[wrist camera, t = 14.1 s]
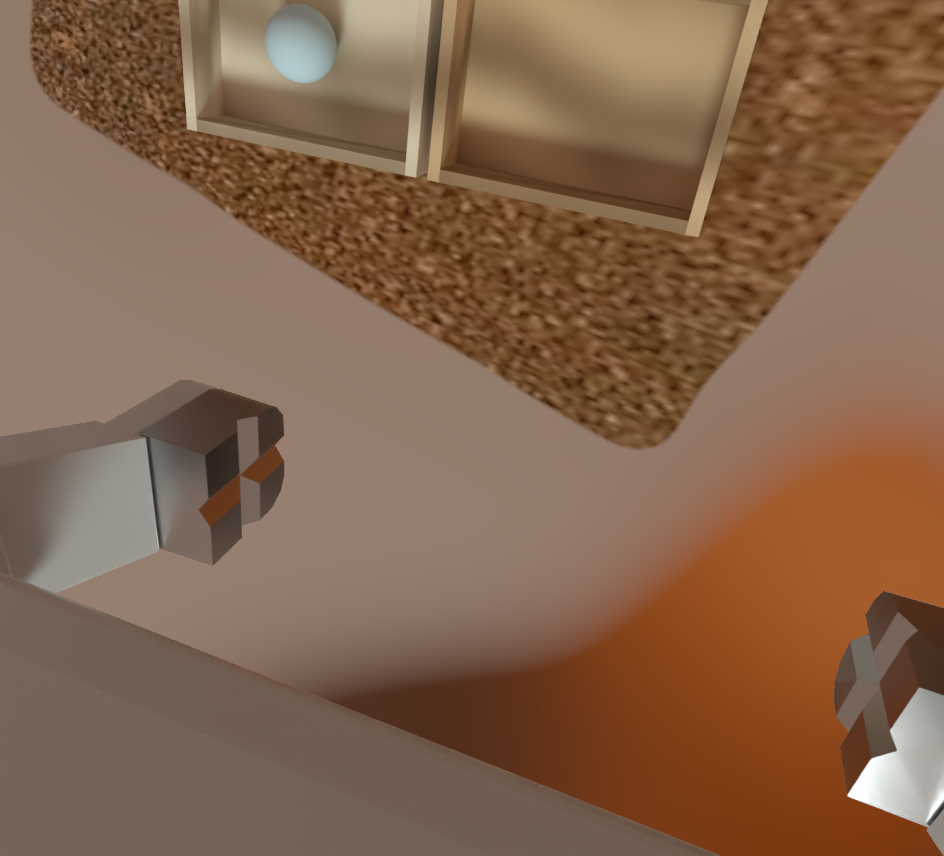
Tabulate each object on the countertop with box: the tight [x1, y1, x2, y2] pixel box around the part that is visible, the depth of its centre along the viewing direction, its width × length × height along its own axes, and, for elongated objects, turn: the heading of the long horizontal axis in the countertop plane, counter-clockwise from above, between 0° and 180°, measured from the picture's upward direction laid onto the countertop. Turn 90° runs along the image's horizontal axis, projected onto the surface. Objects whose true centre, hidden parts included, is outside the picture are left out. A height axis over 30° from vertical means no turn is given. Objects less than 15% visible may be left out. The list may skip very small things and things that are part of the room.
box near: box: [427, 0, 768, 237], centre depth 32 cm, size 10×13×3 cm
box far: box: [178, 0, 444, 177], centre depth 35 cm, size 10×13×3 cm
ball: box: [265, 4, 337, 83], centre depth 35 cm, size 3×3×3 cm
